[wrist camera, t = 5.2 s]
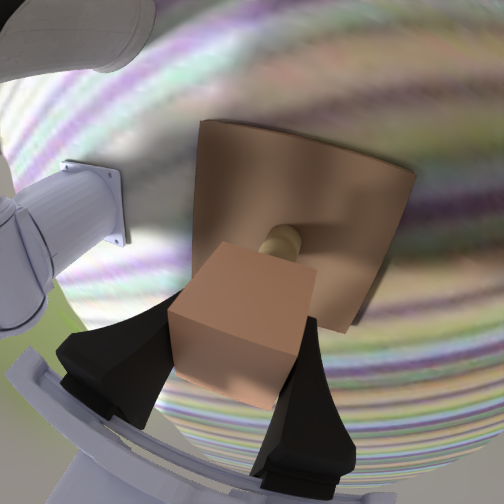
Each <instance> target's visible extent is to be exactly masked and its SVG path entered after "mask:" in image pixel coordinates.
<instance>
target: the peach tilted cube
mask: <svg viewBox="0 0 504 504" xmlns="http://www.w3.org/2000/svg"><path fill="white" fill-rule="evenodd" d="M316 274H317V269H314V268H311V267H307V266H304V265H301V264H297V263H294V262H291V261H287V260H284V259H281V258H277V257H274V256H271V255H267V254H264V253H261V252H257V251H254V250H250V249H247V248H244V247H240V246H237V245H234V244H230V243H227V242H224V241H223V242H222V243H221V244H220V245H219V246H218V248H217V249H216V250H215V251H214V252H213V254H212V255H211V256H210V257H209V259H208V260H207V261H206V262H205V263H204V265H203V266H202V267H201V268H200V270H199V271H198V272H197V273H196V275H195V276H194V277H193V278H192V279H191V281H190V282H189V283H188V284H187V286H186V287H185V288H184V289H183V291H182V292H181V293H180V294H179V296H178V297H177V298H176V299H175V301H174V302H173V303H172V304H171V306H170V307H169V308H168V310H167V311H168V321H169V330H170V338H171V346H172V353H173V360H174V367H175V374H176V376H178V377H180V378H182V379H185V380H187V381H189V382H192V383H194V384H196V385H199V386H201V387H204V388H206V389H209V390H211V391H214V392H216V393H219V394H221V395H224V396H227V397H230V398H232V399H235V400H238V401H241V402H244V403H247V404H250V405H253V406H256V407H259V408H262V409H265V410H269V411H270V409H271V408H272V406H273V404H274V402H275V400H276V398H277V396H278V394H279V393H280V391H281V389H282V387H283V385H284V383H285V381H286V379H287V377H288V375H289V373H290V371H291V369H292V367H293V365H294V363H295V361H296V358H297V356H298V353H299V349H300V345H301V341H302V337H303V333H304V329H305V324H306V320H307V316H308V312H309V307H310V303H311V298H312V293H313V289H314V284H315V279H316Z"/></svg>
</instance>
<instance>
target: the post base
mask: <svg viewBox="0 0 504 504" xmlns="http://www.w3.org/2000/svg"><path fill="white" fill-rule="evenodd" d="M415 178H416V174H415V173H414V172H413V171H410V170H407V169H405V168H402V167H400V166H397V165H394V164H391V163H389V162H386V161H383V160H380V159H377V158H374V157H371V156H368V155H365V154H362V153H359V152H356V151H352V150H349V149H346V148H342V147H339V146H335V145H332V144H328V143H324V142H321V141H317V140H313V139H309V138H305V137H301V136H296V135H292V134H287V133H283V132H278V131H273V130H268V129H263V128H258V127H252V126H246V125H240V124H234V123H227V122H220V121H213V120H203V121H200V128H199V138H198V150H197V163H196V177H195V193H194V213H193V239H192V278H193V277H194V276H195V275H196V273H197V272H198V271H199V270H200V268H201V267H202V266H203V265H204V263H205V262H206V261H207V260H208V259H209V257H210V256H211V255H212V254H213V252H214V251H215V250H216V249H217V248H218V246H219V245H220V244H221V243H222V242H223V241H224V242H227V243H230V244H234V245H237V246H240V247H244V248H247V249H250V250H254V251H257V252H261V253H264V254H267V255H271V256H274V257H277V258H281V259H284V260H287V261H291V262H294V263H297V264H301V265H304V266H307V267H311V268H314V269H317V274H316V279H315V284H314V289H313V293H312V298H311V303H310V307H309V312H308V316H311V317H314V318H316V319H317V326H319V327H322V328H326V329H329V330H333V331H336V332H340V333H344V334H345V333H346V332H347V330H348V328H349V326H350V325H351V323H352V321H353V319H354V317H355V316H356V314H357V312H358V310H359V308H360V306H361V304H362V303H363V301H364V299H365V297H366V295H367V293H368V291H369V289H370V287H371V285H372V283H373V281H374V279H375V277H376V275H377V273H378V270H379V268H380V266H381V264H382V262H383V260H384V257H385V255H386V253H387V251H388V248H389V246H390V244H391V242H392V239H393V237H394V234H395V232H396V230H397V227H398V225H399V222H400V220H401V217H402V215H403V212H404V209H405V207H406V204H407V201H408V199H409V196H410V193H411V190H412V187H413V184H414V181H415Z"/></svg>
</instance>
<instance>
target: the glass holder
mask: <svg viewBox="0 0 504 504" xmlns="http://www.w3.org/2000/svg"><path fill="white" fill-rule="evenodd" d="M155 15H156V4H155V0H0V83H3V82H7V81H11V80H15V79H20V78H25V77H30V76H35V75H41V74H47V73H54V72H62V71H71V70H82V69H93V70H95V71H97V72H101V73H110V72H114V71H117V70H119V69H121V68H122V67H124V66H126V65H127V64H128V63H129V62H131V61H132V60H133V59H134V58H135V57H136V55H137V54H138V53H139V52H140V51H141V49H142V48H143V46H144V45H145V43H146V41H147V40H148V38H149V36H150V33H151V31H152V28H153V25H154V21H155Z"/></svg>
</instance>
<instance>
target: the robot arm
mask: <svg viewBox="0 0 504 504" xmlns="http://www.w3.org/2000/svg"><path fill="white" fill-rule="evenodd" d="M111 174H112V175H111ZM102 240H104V241H107V242H110V243H112V244H115V245H117V246H120V247H124V246H125V245H126V239H125V230H124V220H123V209H122V196H121V179H120V172H119V171H118V170H116V169H110V168H104V167H99V166H93V165H86V164H80V163H74V162H67V161H62V162H61V163H60V171H59V172H57V173H55V174H53V175H51V176H48V177H46V178H44V179H42V180H40V181H38V182H36V183H34V184H32V185H30V186H28V187H26V188H24V189H23V190H21V191H20V192H18V193H17V194H16V195H15V197H14V198H13V199H9V198H7V197H6V196H0V340H1V339H3V338H6V337H9V336H16V335H19V334H23V333H25V332H27V331H29V330H30V329H32V328H33V327H34V326H35V325H36V324H37V323H38V322H39V321H40V319H41V317H42V316H43V314H44V313H45V311H46V309H47V305H48V295H47V294H48V293H49V292H50V291H51V290H52V289H53V288H54V284H53V281H52V279H54V278H55V277H56V276H57V275H58V274H59V273H61V272H62V271H63V270H64V269H66V268H67V267H68V266H69V265H70V264H72V263H73V262H74V261H75V260H77V259H78V258H79V257H81V256H82V255H83V254H84V253H86V252H87V251H88V250H90V249H91V248H92V247H94V246H95V245H96V244H98V243H99V242H100V241H102ZM182 291H183V289H182V290H181V291H179V292H177V293H176V294H174V295H173V296H171V297H170V298H168V299H166V300H165V301H163V302H161V303H160V304H158V305H156V306H154V307H152V308H150V309H149V310H147V311H145V312H143V313H141V314H139V315H136V316H134V317H132V318H129V319H127V320H124V321H122V322H119V323H116V324H113V325H110V326H106V327H103V328H99V329H95V330H90V331H84V332H78V333H72V334H71V335H70V336H69V337H68V338H67V339H66V340H65V341H64V342H63V343H62V344H61V345H60V346H59V347H58V349H57V350H56V355H57V357H58V359H59V361H60V362H61V364H62V365H63V367H64V368H65V370H66V371H67V374H66V375H65V376H64V378H62V377H61V376H60V375H58V374H57V373H56V372H55V371H54V370H52V369H51V368H50V367H49V365H48V364H47V362H46V361H45V360H44V358H43V357H42V356H41V355H40V354H39V353H38V352H36V351H35V350H34V349H33V348H32V347H31V346H29V347H28V348H27V349H26V350H25V351H24V352H23V353H22V354H21V355H20V357H19V358H18V359H17V360H16V361H15V362H14V364H13V365H12V366H11V367H10V368H9V369H8V370H7V371H6V373H5V377H6V378H7V379H8V380H9V381H10V382H11V384H12V385H13V386H14V387H15V388H16V389H17V390H18V392H19V393H20V394H21V395H22V396H23V397H24V398H25V399H26V400H27V401H28V402H29V403H30V404H31V405H32V406H33V408H34V409H36V411H37V412H38V413H39V414H40V415H41V416H42V417H43V418H44V419H46V420H47V421H48V422H49V423H50V424H51V425H52V426H53V427H54V428H55V429H57V430H58V431H59V432H60V433H61V434H62V435H63V436H64V437H66V438H67V439H68V440H69V441H70V442H72V443H73V444H74V445H75V446H77V447H78V448H79V449H80V450H79V451H78V453H77V454H76V456H75V458H74V459H73V460H72V462H71V463H70V465H69V467H68V468H67V470H66V471H65V473H64V474H63V476H62V477H61V479H60V481H59V482H58V484H57V485H56V487H55V488H54V490H53V491H52V493H51V495H50V496H49V498H48V499H47V501H46V502H45V504H396V498H397V493H395V492H387V493H386V492H373V493H367V494H364V495H351V494H340V493H334V492H335V488H336V485H338V484H339V481H340V477H341V476H343V475H346V474H348V473H350V472H352V471H353V470H354V468H355V464H356V446H355V445H354V443H353V441H352V440H351V438H350V436H349V434H348V432H347V431H346V429H345V427H344V425H343V423H342V421H341V418H340V416H339V414H338V411H337V409H336V407H335V404H334V402H333V399H332V396H331V393H330V390H329V387H328V384H327V380H326V377H325V373H324V368H323V364H322V359H321V353H320V348H319V341H318V331H317V319H316V318H314V317H311V316H307V320H306V324H305V329H304V333H303V337H302V341H301V345H300V349H299V353H298V356H297V358H296V361H295V363H294V365H293V367H292V369H291V371H290V373H289V375H288V377H287V379H286V381H285V383H284V385H283V387H282V389H281V391H280V393H279V397H278V401H277V405H276V408H275V411H274V414H273V416H272V419H271V422H270V425H269V428H268V430H267V433H266V436H265V438H264V441H263V443H262V446H261V448H260V451H259V453H258V456H257V458H256V461H255V463H254V465H253V468H252V470H251V472H250V475H249V476H248V475H245V474H242V473H238V472H235V471H232V470H229V469H226V468H224V467H221V466H218V465H215V464H212V463H210V462H207V461H205V460H202V459H200V458H197V457H195V456H192V455H190V454H188V453H185V452H183V451H181V450H178V449H176V448H174V447H172V446H170V445H168V444H166V443H164V442H162V441H160V440H158V439H156V438H154V437H152V436H150V435H148V434H146V433H144V432H143V431H141V430H143V429H144V428H145V426H146V423H147V421H148V418H149V416H150V413H151V411H152V409H153V407H154V404H155V402H156V400H157V398H158V396H159V394H160V392H161V390H162V388H163V386H164V384H165V382H166V380H167V378H168V376H169V374H170V372H171V370H172V368H173V367H174V360H173V353H172V346H171V338H170V330H169V321H168V311H167V310H168V308H169V307H170V306H171V304H172V303H173V302H174V301H175V299H176V298H177V297H178V296H179V294H180V293H181V292H182ZM103 424H104V425H105V426H107V427H108V428H110V429H112V430H113V431H115V432H116V433H118V434H119V435H121V436H122V437H124V438H126V439H127V440H129V441H131V442H133V443H134V444H136V445H138V446H140V447H142V448H143V449H145V450H147V451H149V452H151V453H153V454H155V455H157V456H159V457H161V458H163V459H165V460H167V461H169V462H171V463H173V464H175V465H178V466H180V467H182V468H184V469H187V470H189V471H191V472H194V473H196V474H199V475H202V476H204V477H207V478H209V479H212V480H215V481H218V482H221V483H223V484H226V485H230V486H233V487H236V488H239V489H242V490H246V491H250V492H246V491H241V490H237V489H232V490H231V492H230V493H229V495H227V494H224V493H221V492H219V491H216V490H213V489H211V488H208V487H206V486H203V485H201V484H198V483H196V482H194V481H191V480H189V479H187V478H184V477H182V476H180V475H178V474H176V473H174V472H172V471H170V470H167V469H165V468H163V467H161V466H159V465H157V464H155V463H153V462H151V461H149V460H148V459H146V458H144V457H142V456H140V455H138V454H136V453H134V452H133V451H131V448H130V447H128V446H127V445H126V444H125V443H124V442H123V441H122V440H121V439H120V437H119V436H117V435H116V434H114V433H113V432H112V431H110V430H109V429H108V428H106V427H105V426H104V425H103ZM251 492H253V493H251ZM256 493H257V494H256ZM260 494H261V495H260ZM263 495H265V496H263Z"/></svg>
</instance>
